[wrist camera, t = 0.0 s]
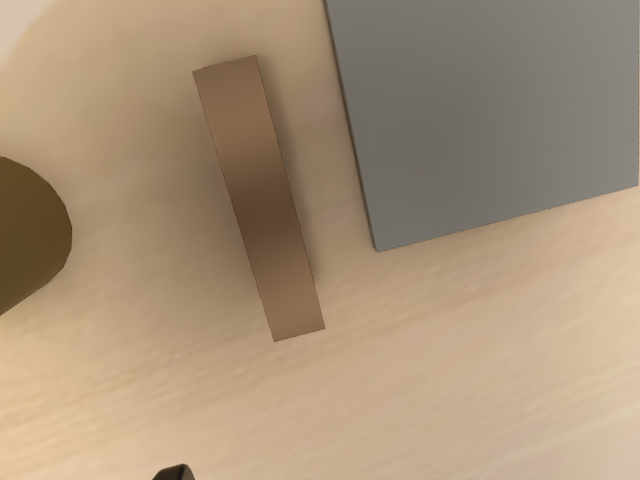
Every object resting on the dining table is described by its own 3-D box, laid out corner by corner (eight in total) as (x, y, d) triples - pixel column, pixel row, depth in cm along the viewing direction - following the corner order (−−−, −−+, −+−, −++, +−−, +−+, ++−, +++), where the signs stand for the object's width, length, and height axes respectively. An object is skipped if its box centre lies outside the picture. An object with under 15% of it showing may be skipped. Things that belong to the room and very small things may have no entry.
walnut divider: (314, 284, 23) (325, 328, 19) (271, 294, 23) (274, 342, 19) (255, 55, 20) (255, 56, 16) (204, 67, 19) (192, 71, 16)
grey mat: (629, 182, 23) (638, 185, 23) (374, 247, 23) (377, 252, 22) (629, -126, 19) (640, -131, 18) (313, -50, 19) (316, -54, 18)
